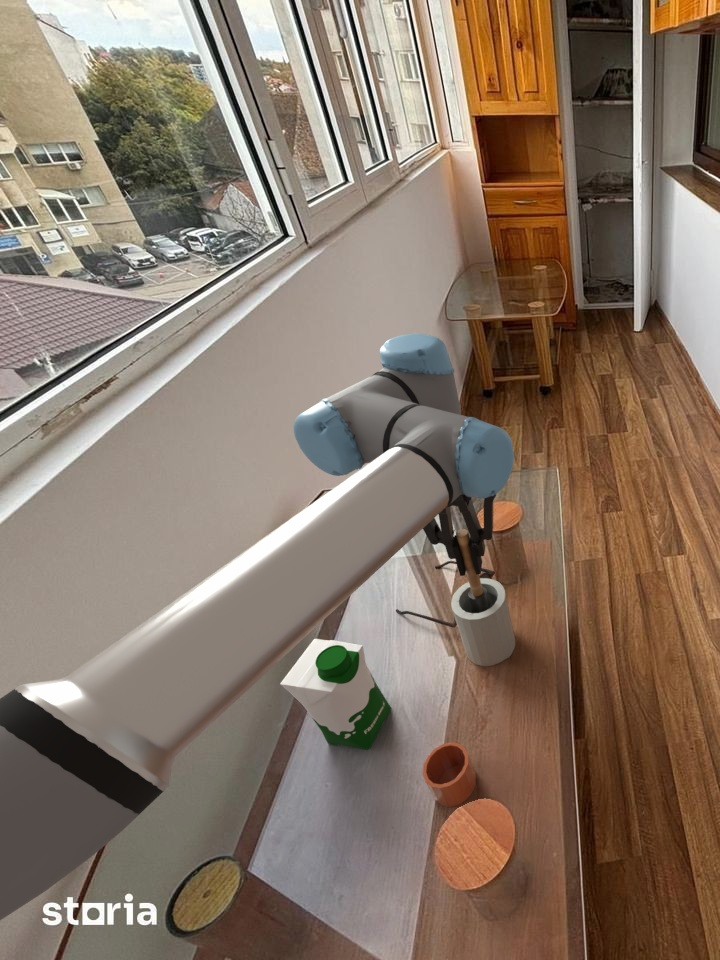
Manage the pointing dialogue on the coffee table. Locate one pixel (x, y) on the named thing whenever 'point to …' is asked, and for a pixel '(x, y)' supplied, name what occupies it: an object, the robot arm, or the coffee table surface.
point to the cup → (484, 625)
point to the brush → (472, 575)
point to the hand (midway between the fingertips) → (471, 568)
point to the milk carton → (339, 693)
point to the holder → (449, 774)
